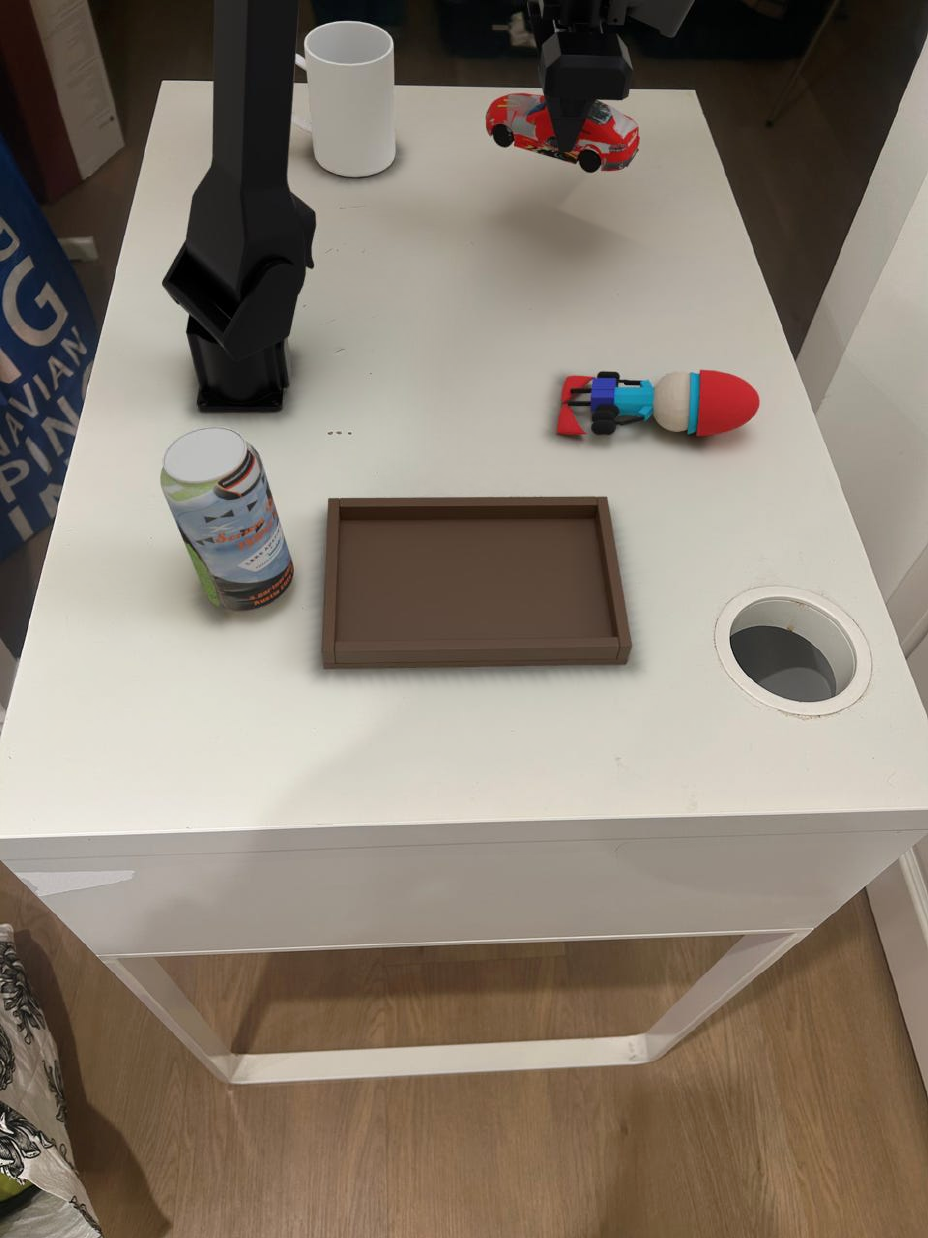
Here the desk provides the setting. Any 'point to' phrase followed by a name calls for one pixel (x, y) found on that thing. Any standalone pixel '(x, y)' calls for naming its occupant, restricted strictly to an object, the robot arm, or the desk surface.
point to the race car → (530, 128)
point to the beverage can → (227, 517)
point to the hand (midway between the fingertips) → (560, 128)
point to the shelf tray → (472, 583)
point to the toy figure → (662, 402)
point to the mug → (350, 97)
